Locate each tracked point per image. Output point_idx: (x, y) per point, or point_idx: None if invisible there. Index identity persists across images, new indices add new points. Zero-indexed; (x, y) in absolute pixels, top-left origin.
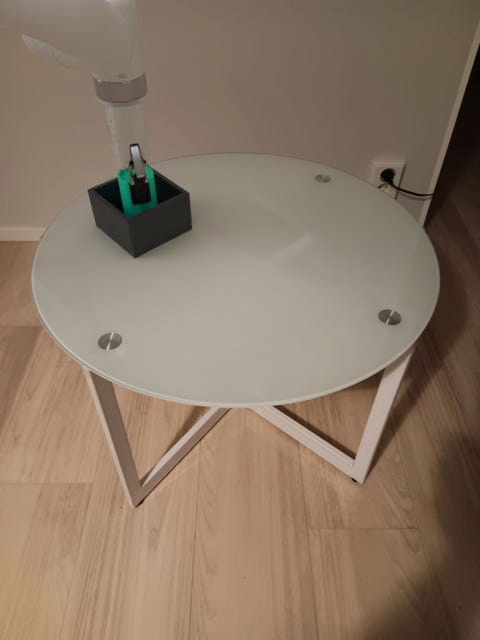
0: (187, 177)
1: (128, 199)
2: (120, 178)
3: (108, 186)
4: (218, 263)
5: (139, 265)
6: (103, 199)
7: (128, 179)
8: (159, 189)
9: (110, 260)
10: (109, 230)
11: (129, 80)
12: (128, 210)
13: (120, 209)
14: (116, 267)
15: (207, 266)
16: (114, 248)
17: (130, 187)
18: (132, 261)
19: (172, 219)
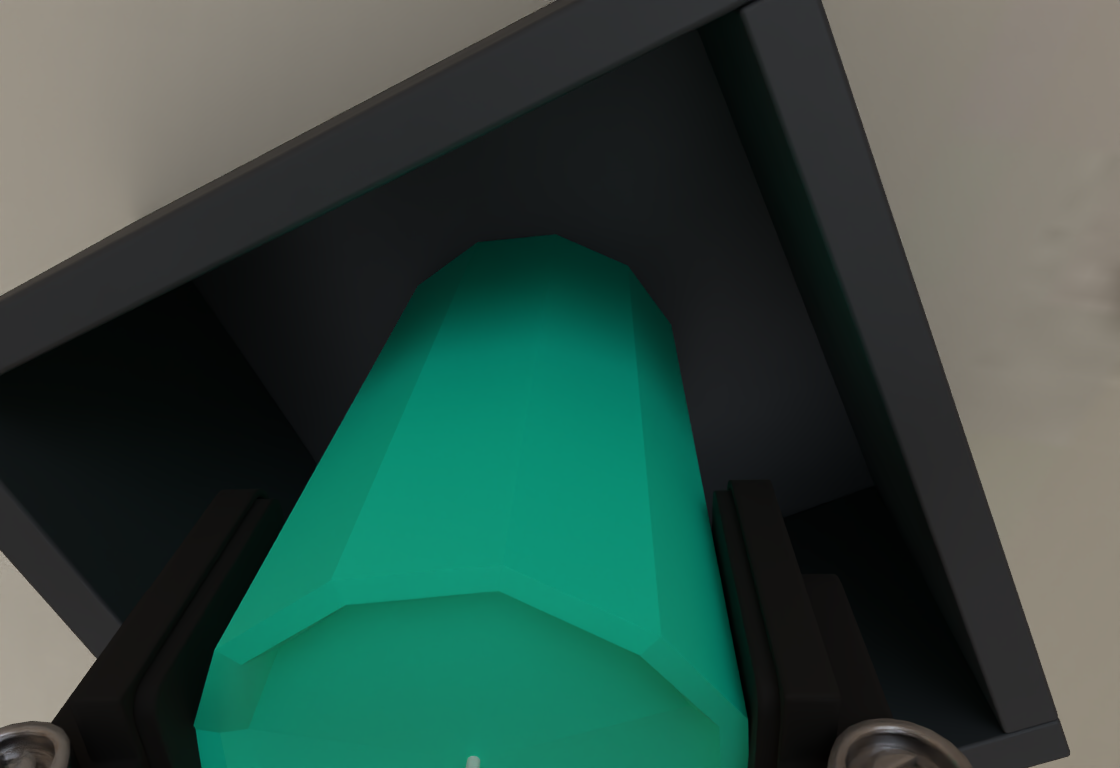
0: (1092, 760)
1: (321, 463)
2: (336, 597)
3: (818, 243)
4: (48, 703)
5: (44, 245)
6: (414, 140)
7: (387, 663)
8: None
9: (123, 10)
10: (427, 69)
11: None
12: (393, 364)
13: (776, 226)
14: (23, 53)
15: (20, 646)
16: (293, 70)
17: (106, 665)
18: (97, 199)
19: None
